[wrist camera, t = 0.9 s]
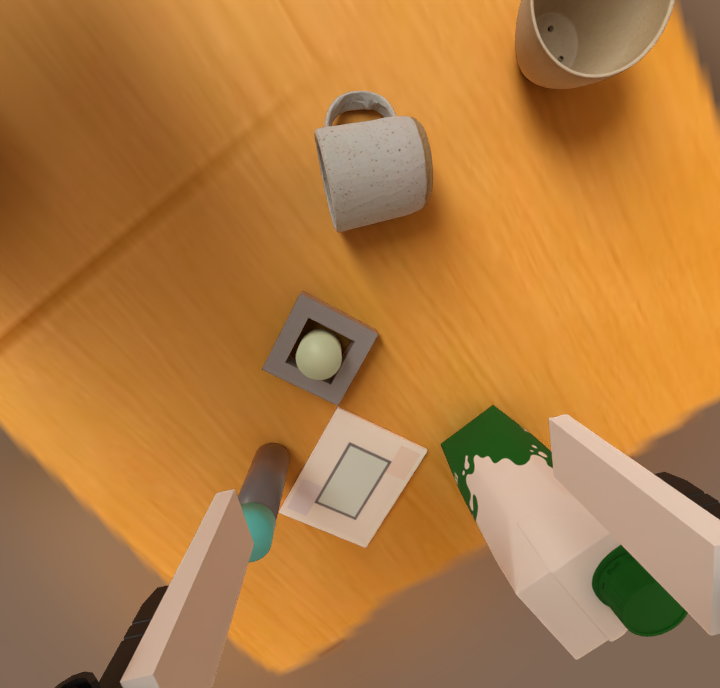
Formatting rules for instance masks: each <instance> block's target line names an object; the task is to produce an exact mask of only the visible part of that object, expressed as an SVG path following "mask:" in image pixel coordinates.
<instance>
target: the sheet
mask: <svg viewBox="0 0 720 688" xmlns="http://www.w3.org/2000/svg"><path fill="white" fill-rule="evenodd" d="M427 451H428V450H427V448H425V447H422V446H420V445H418V444H416V443H414V442H412V441H410V440H408V439H406V438H403V437H401V436H399V435H397V434H395V433H393V432H391V431H389V430H387V429H385V428H382V427H380V426H378V425H376V424H374V423H372V422H370V421H368V420H366V419H363V418H361V417H359V416H357V415H355V414H353V413H351V412H349V411H347V410H345V409H342V408H340V407H337V409H336V410H335V412H334V414H333V416H332V417H331V419H330V421H329V423H328V425H327V426H326V428H325V430H324V432H323V433H322V435H321V437H320V439H319V441H318V442H317V444H316V446H315V448H314V449H313V451H312V453H311V455H310V457H309V458H308V460H307V462H306V464H305V465H304V467H303V469H302V471H301V473H300V474H299V476H298V478H297V480H296V481H295V483H294V485H293V487H292V488H291V490H290V492H289V494H288V496H287V497H286V499H285V501H284V503H283V504H282V506H281V508H280V510H279V513H280V514H283V515H285V516H288V517H290V518H293V519H295V520H298V521H300V522H303V523H305V524H308V525H310V526H313V527H315V528H317V529H320V530H322V531H325V532H327V533H330V534H332V535H335V536H337V537H340V538H342V539H345V540H347V541H350V542H352V543H354V544H357V545H359V546H362V547H364V548H366V547H367V545H368V544H369V542H370V541H371V539H372V538H373V536H374V534H375V533H376V531H377V530H378V528H379V527H380V525H381V523H382V522H383V520H384V519H385V517H386V516H387V514H388V512H389V511H390V509H391V508H392V506H393V505H394V503H395V501H396V500H397V498H398V497H399V495H400V494H401V492H402V490H403V489H404V487H405V486H406V484H407V483H408V481H409V479H410V478H411V476H412V475H413V473H414V472H415V470H416V468H417V467H418V465H419V464H420V462H421V461H422V459H423V457H424V456H425V454H426V453H427Z"/></svg>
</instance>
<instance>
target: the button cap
mask: <svg viewBox="0 0 720 688" xmlns="http://www.w3.org/2000/svg"><path fill="white" fill-rule="evenodd" d="M341 361H342V352H341V344H340V341H339V339H338V338H337V336H336V335H335V334H333V333H332V332H330V331H328V330H325V329H316V330H312V331H310V332H308V333H307V334H306V335H305V336H304V337H303V338H302V340H301V342H300V345H299V347H298V349H297V352H296V363H297V366H298V368H299V370H300V371H301V372H302V373H303V374H304V375H305V376H306V377H308V378H311V379H314V380H324V379H327V378H330V377H331V376H333V375H334V374H335V373H336V372H337V371H338V369H339V368H340V365H341Z"/></svg>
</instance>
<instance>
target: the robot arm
mask: <svg viewBox="0 0 720 688" xmlns="http://www.w3.org/2000/svg"><path fill="white" fill-rule="evenodd" d="M549 428H550V439H551V451H552V462H553V473H554V477H555V478H556V479H557V480H558V481H559V482H560V483H561V484H562V485H563V486H564V487H565V488H566V489H567V490H568V491H569V492H570V493H571V494H572V495H573V496H574V497H575V498H576V499H577V500H578V501H579V502H580V503H581V504H582V505H583V506H584V507H585V508H586V509H587V510H588V511H589V512H590V513H591V514H592V515H593V516H594V517H595V519H596V520H597V521H598V522H599V523H600V524H601V525H602V526H603V527H604V528H605V529H606V530H607V531H608V532H609V533H610V534H611V535H612V536H613V537H614V538H615V539H616V540H617V541H618V542H619V543H620V544H621V545H622V546H623V547H624V548H625V549H626V550H627V551H628V552H629V553H630V554H631V555H632V556H633V557H634V558H635V559H636V560H637V561H638V562H639V563H640V564H641V565H642V566H643V567H644V568H645V569H646V571H647V572H648V573H649V574H650V575H651V576H652V577H653V578H654V579H655V580H656V581H657V582H658V583H659V584H660V585H661V586H662V587H663V588H664V589H665V590H666V591H667V592H668V593H669V594H670V595H671V596H672V597H673V598H674V599H675V600H676V601H677V602H678V603H679V604H680V605H681V606H682V607H683V608H684V609H685V610H686V611H687V612H688V613H689V614H690V615H691V616H692V617H693V618H694V619H695V620H696V621H697V622H698V624H700V626H701V627H702V628H703V629H705V631H706V632H707V633H708V634H709V635H710V636H711V635H715V634H720V503H719V502H718V500H716V499H714V498H713V497H711V496H710V495H708V494H705V493H704V492H703V491H702V490H700V489H699V488H697V487H696V486H694V485H693V484H691V483H690V482H688V481H686V480H684V479H682V478H679V477H676V476H674V475H672V474H669V473H666V472H662V473H658V474H653V473H651V472H650V471H648V470H647V469H645V468H644V467H642V466H641V465H640V464H638V463H637V462H635V461H634V460H632V459H631V458H629V457H628V456H627V455H625V454H624V453H622V452H621V451H619V450H618V449H616V448H615V447H614V446H612V445H611V444H609V443H608V442H606V441H605V440H603V439H602V438H601V437H599V436H598V435H596V434H595V433H593V432H592V431H590V430H589V429H588V428H586V427H585V426H583V425H582V424H580V423H579V422H577V421H576V420H574V419H573V418H572V417H570V416H569V415H567V414H566V415H561V416H557V417H552V418H549ZM253 545H254V542H253V540H252V537H251V534H250V531H249V528H248V525H247V522H246V520H245V517H244V514H243V511H242V508H241V505H240V502H239V499H238V497H237V494H236V491H235V489H232V490H228V491H223V492H219V493H216V495H215V497H214V499H213V501H212V503H211V505H210V506H209V508H208V510H207V512H206V514H205V516H204V518H203V520H202V522H201V524H200V526H199V528H198V530H197V532H196V534H195V536H194V538H193V540H192V542H191V544H190V546H189V548H188V550H187V551H186V553H185V555H184V557H183V559H182V561H181V563H180V565H179V567H178V569H177V571H176V573H175V575H174V577H173V579H172V581H171V583H170V585H168V586H163V587H159V588H157V589H156V590H155V591H154V592H153V593H152V594H151V595H150V597H149V598H148V599H147V600H146V601H145V602H144V603H143V604H142V606H141V608H140V610H139V612H138V613H137V615H136V617H135V619H134V621H133V622H132V626H130V627H129V629H128V631H127V633H126V635H125V636H124V641H122V642H121V643H120V645H119V647H118V649H117V651H116V653H115V654H114V656H113V658H112V660H111V661H110V663H109V665H108V667H107V669H106V670H105V672H104V674H103V676H102V677H101V679H100V681H99V682H98V681H97V679H96V677H95V676H94V674H93V673H91V672H82V673H79V674H76V675H73V676H71V677H69V678H68V679H66V680H65V681H63V682H61V683H60V684H58V685H57V686H56V687H55V688H212V686H213V683H214V679H215V676H216V672H217V669H218V665H219V662H220V658H221V655H222V652H223V648H224V645H225V641H226V638H227V635H228V631H229V628H230V624H231V621H232V617H233V614H234V611H235V607H236V604H237V600H238V597H239V593H240V590H241V586H242V583H243V580H244V576H245V573H246V569H247V566H248V562H249V559H250V556H251V552H252V549H253Z"/></svg>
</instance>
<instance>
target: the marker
mask: <svg viewBox="0 0 720 688" xmlns="http://www.w3.org/2000/svg"><path fill="white" fill-rule="evenodd" d="M289 462H290V456H289V453H288V451H287V450H286V449H285V448H284V447H283V446H282V445H279V444H276V443H268V444H265V445H263V446H261V447H260V448H259V449H258V450H257V452H256V454H255V457H254V459H253V461H252V464H251V466H250V469H249V471H248V474H247V476H246V479H245V481H244V483H243V486H242V488H241V491H240V493H239V496H238V499H239V502H240V505H241V508H242V511H243V514H244V517H245V520H246V522H247V525H248V528H249V531H250V534H251V537H252V540H253V542H254V545H253V549H252V552H251V556H250V559H249V562H254V561H257V560H259V559H261V558H263V557H264V556H265V555H266V554H267V553H268V552H269V550H270V547H271V543H272V539H273V534H274V530H275V525H276V518H277V514H278V510H279V505H280V501H281V497H282V492H283V488H284V484H285V479H286V475H287V471H288V466H289Z"/></svg>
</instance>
